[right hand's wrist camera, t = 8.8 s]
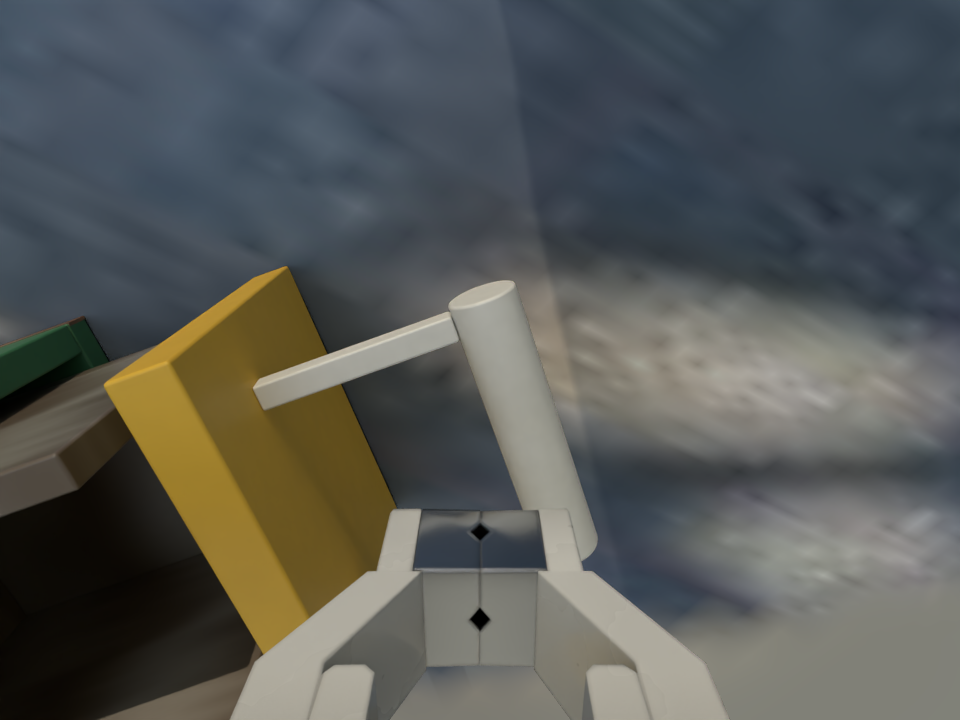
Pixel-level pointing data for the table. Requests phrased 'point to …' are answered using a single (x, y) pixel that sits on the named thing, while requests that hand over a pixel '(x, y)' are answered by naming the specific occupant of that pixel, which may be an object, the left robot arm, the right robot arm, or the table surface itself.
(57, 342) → the cabinet
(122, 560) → the drawer
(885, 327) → the table surface
